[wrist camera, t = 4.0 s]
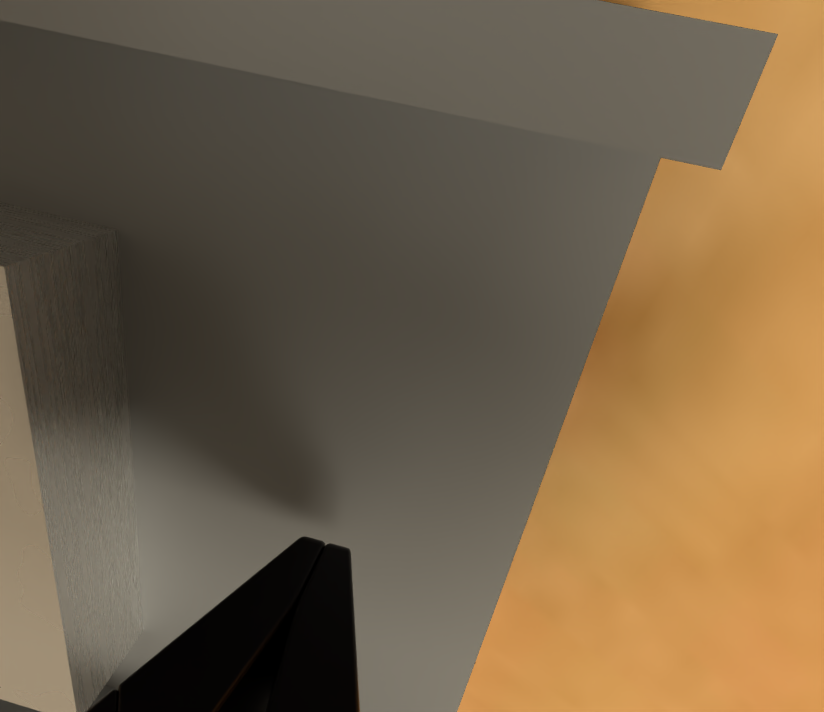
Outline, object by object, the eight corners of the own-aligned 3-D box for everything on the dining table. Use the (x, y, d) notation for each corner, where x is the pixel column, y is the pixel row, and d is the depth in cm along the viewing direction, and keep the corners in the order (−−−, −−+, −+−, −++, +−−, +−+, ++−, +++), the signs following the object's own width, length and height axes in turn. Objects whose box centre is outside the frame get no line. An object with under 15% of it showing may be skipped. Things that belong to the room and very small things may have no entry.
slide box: (675, 60, 7) (778, 33, 4) (428, 760, 14) (407, 918, 11) (-538, -176, 8) (-1057, -312, 5) (-197, 573, 15) (-348, 674, 13)
